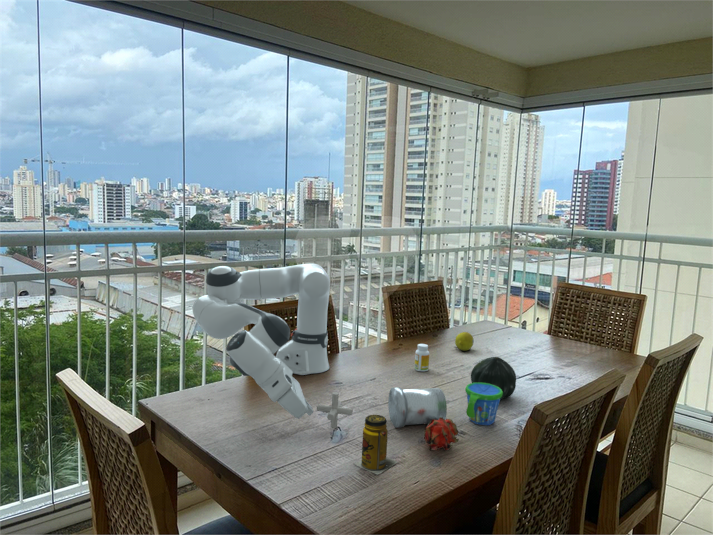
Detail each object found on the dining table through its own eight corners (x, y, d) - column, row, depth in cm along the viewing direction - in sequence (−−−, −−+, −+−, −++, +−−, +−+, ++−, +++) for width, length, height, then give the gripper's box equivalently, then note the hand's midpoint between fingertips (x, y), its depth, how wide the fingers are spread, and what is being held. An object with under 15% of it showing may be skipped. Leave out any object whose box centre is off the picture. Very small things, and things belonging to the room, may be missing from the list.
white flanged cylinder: (399, 435, 146) (401, 397, 145) (386, 416, 159) (388, 380, 157) (447, 433, 149) (450, 395, 148) (430, 414, 162) (433, 379, 160)
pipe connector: (347, 437, 143) (349, 401, 141) (311, 432, 144) (313, 397, 143) (354, 422, 152) (356, 389, 151) (321, 417, 154) (322, 384, 153)
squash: (490, 368, 190) (478, 343, 181) (528, 382, 180) (518, 355, 171) (470, 400, 184) (457, 375, 175) (509, 415, 174) (497, 390, 165)
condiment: (353, 464, 128) (356, 417, 126) (375, 452, 134) (377, 408, 133) (377, 475, 123) (380, 427, 122) (398, 463, 130) (401, 416, 128)
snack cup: (481, 434, 148) (484, 399, 147) (451, 421, 156) (453, 388, 154) (510, 420, 159) (513, 388, 158) (481, 409, 166) (483, 378, 165)
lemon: (466, 354, 226) (467, 336, 225) (450, 350, 231) (451, 332, 230) (477, 349, 235) (479, 331, 234) (461, 345, 239) (463, 328, 238)
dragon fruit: (453, 445, 144) (431, 467, 135) (431, 421, 147) (408, 441, 138) (470, 428, 139) (449, 450, 130) (447, 404, 142) (424, 424, 133)
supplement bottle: (430, 368, 204) (431, 344, 203) (425, 372, 199) (427, 347, 198) (416, 366, 206) (418, 342, 205) (412, 370, 201) (414, 345, 200)
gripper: (266, 374, 152) (298, 405, 156) (270, 401, 133) (307, 436, 136) (282, 359, 153) (314, 390, 156) (288, 384, 133) (325, 418, 137)
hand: (311, 411), depth 146 cm, fingers closed
